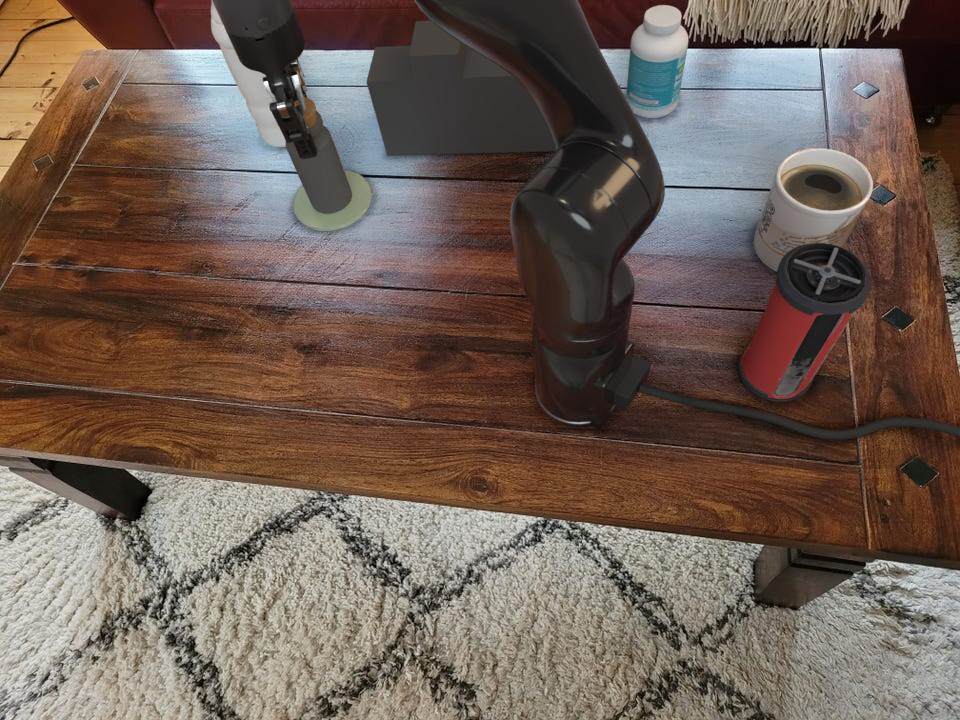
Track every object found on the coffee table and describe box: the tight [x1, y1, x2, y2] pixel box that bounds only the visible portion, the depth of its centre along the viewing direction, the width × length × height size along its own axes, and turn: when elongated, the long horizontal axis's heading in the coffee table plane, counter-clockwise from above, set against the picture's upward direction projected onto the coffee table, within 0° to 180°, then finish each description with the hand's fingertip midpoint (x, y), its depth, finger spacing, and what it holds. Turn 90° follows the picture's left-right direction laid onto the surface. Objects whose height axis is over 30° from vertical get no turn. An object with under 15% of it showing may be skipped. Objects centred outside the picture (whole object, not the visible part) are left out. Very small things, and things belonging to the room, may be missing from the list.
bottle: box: [285, 97, 352, 214], centre depth 89 cm, size 6×6×15 cm
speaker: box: [737, 243, 872, 403], centre depth 67 cm, size 8×8×18 cm
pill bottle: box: [625, 4, 689, 119], centre depth 93 cm, size 8×7×14 cm
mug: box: [752, 147, 874, 273], centre depth 79 cm, size 10×12×11 cm
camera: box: [365, 20, 556, 157], centre depth 95 cm, size 25×16×16 cm, turn 86°
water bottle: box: [210, 0, 286, 148], centre depth 93 cm, size 7×7×25 cm
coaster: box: [292, 169, 373, 232], centre depth 95 cm, size 11×11×1 cm
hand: (308, 138), depth 86 cm, fingers closed on bottle, 5 cm apart
